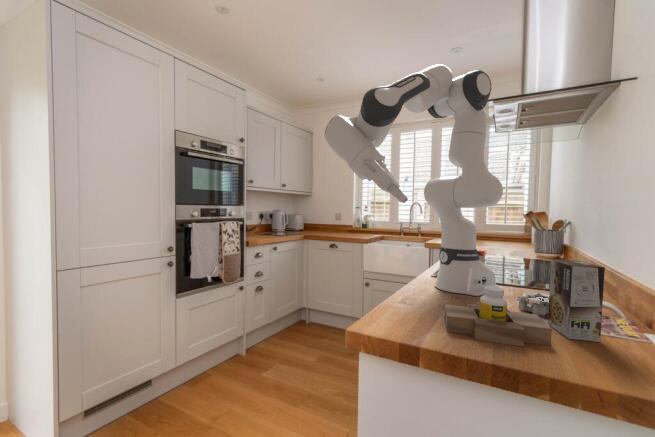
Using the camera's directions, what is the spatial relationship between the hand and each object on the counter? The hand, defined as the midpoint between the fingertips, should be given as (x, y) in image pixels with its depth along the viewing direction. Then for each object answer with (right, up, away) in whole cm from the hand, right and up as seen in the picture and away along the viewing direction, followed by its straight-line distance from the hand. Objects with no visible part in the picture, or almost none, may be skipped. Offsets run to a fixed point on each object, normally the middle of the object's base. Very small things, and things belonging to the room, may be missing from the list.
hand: (405, 200), depth 80 cm
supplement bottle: (+17, -30, -10) cm, 36 cm away
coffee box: (+36, -31, -10) cm, 48 cm away
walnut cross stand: (+17, -30, -10) cm, 36 cm away
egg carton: (+39, -31, +6) cm, 50 cm away
